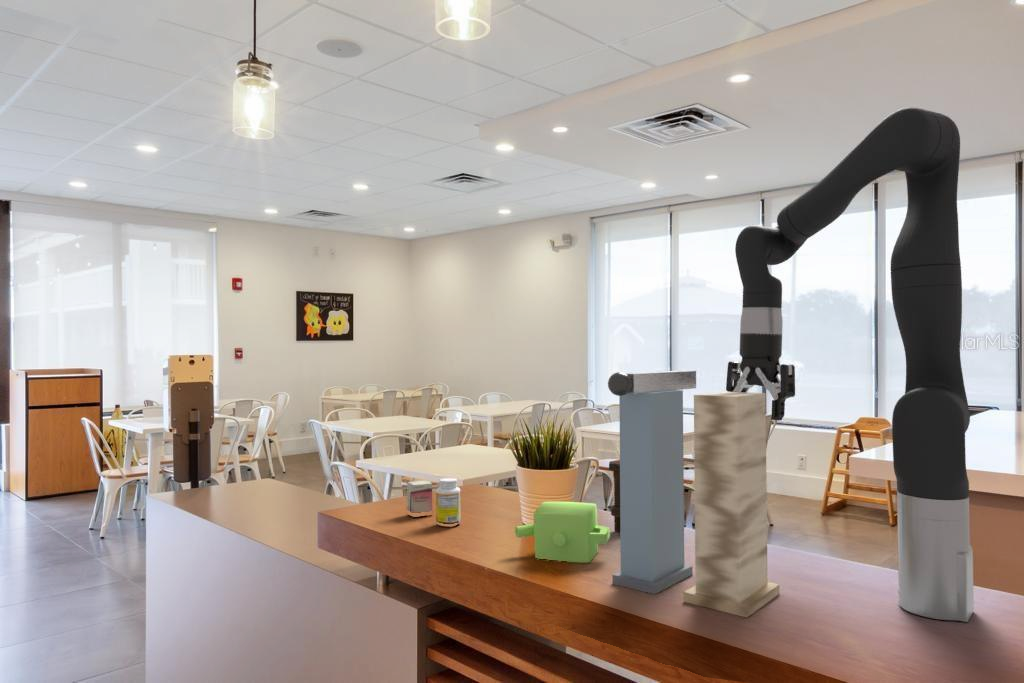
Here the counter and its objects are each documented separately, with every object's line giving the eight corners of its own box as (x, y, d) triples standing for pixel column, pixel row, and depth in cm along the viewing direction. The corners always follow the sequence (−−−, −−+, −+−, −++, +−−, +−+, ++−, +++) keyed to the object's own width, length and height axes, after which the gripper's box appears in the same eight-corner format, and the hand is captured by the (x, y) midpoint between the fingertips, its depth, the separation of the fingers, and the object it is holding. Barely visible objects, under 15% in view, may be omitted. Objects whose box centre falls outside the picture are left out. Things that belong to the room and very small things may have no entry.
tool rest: (779, 593, 110) (777, 393, 111) (746, 617, 101) (744, 397, 101) (719, 580, 117) (717, 391, 117) (683, 601, 107) (681, 394, 108)
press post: (692, 574, 120) (690, 390, 121) (655, 594, 110) (653, 393, 111) (651, 565, 125) (650, 388, 126) (612, 583, 116) (611, 392, 116)
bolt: (633, 535, 146) (632, 464, 146) (609, 534, 147) (608, 463, 147) (633, 528, 152) (633, 460, 152) (610, 527, 153) (610, 459, 153)
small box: (412, 518, 162) (412, 484, 162) (406, 514, 166) (406, 481, 166) (433, 516, 165) (432, 482, 165) (426, 512, 168) (426, 480, 169)
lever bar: (697, 389, 127) (697, 369, 127) (623, 396, 108) (623, 372, 108) (678, 389, 130) (678, 369, 130) (603, 396, 111) (603, 372, 111)
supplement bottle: (444, 520, 160) (444, 476, 160) (465, 523, 157) (465, 478, 157) (431, 526, 155) (431, 480, 155) (452, 529, 152) (452, 482, 152)
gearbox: (508, 562, 130) (506, 512, 129) (523, 546, 139) (522, 499, 139) (604, 569, 124) (602, 516, 124) (613, 551, 134) (611, 502, 133)
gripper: (806, 333, 127) (803, 421, 127) (745, 332, 139) (742, 413, 139) (778, 331, 123) (775, 422, 123) (718, 331, 135) (715, 414, 135)
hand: (758, 417), depth 131 cm, fingers open, 8 cm apart
